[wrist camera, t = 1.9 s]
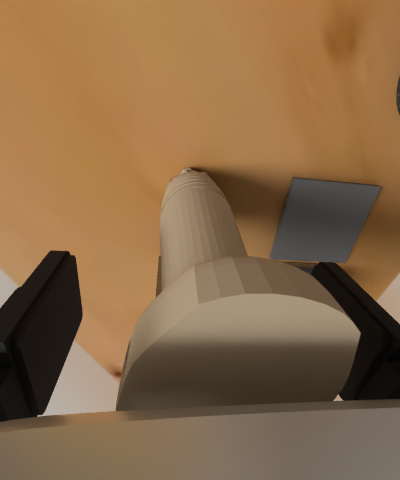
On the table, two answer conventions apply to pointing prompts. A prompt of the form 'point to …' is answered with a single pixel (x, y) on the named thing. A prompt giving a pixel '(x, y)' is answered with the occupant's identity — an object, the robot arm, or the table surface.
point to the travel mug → (398, 96)
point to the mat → (322, 220)
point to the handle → (230, 318)
